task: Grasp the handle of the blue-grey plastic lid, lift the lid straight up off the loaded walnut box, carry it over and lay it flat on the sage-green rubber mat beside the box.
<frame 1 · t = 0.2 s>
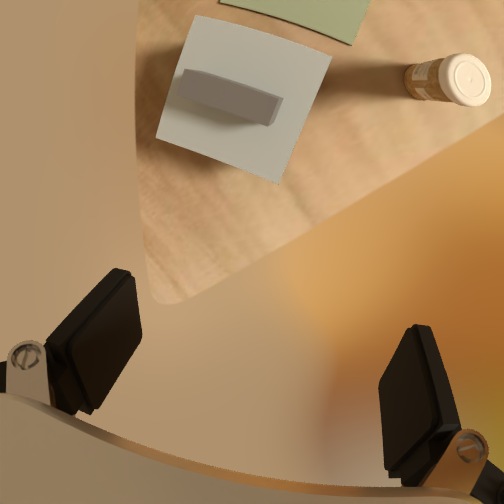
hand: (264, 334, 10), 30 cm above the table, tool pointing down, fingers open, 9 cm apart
lid: (239, 95, 27), point 8 cm above the table, touching box
sprinkles bottle: (420, 81, 29), on the table
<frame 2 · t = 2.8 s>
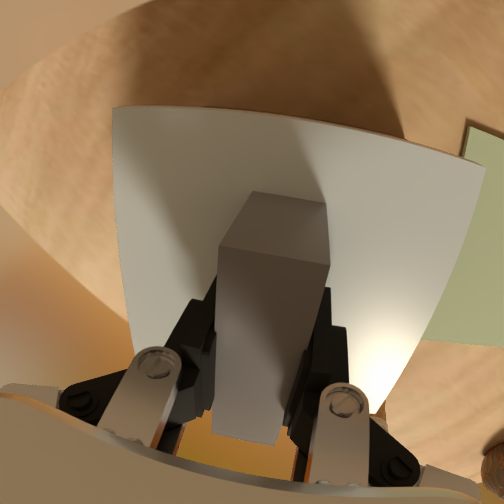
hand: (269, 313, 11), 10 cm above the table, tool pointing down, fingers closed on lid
lid: (276, 283, 13), point 8 cm above the table, touching box, gripper
vase: (497, 448, 30), on the table
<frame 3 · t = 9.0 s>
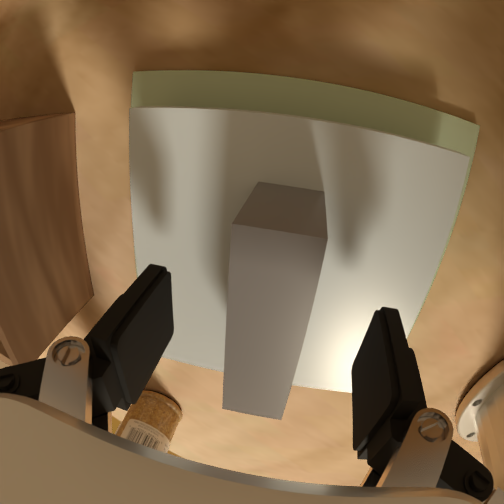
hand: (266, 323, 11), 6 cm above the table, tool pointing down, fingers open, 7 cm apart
lid: (280, 267, 14), point 2 cm above the table, touching mat
mat: (283, 247, 16), on the table
sprinkles bottle: (160, 403, 25), on the table
box: (20, 203, 18), on the table
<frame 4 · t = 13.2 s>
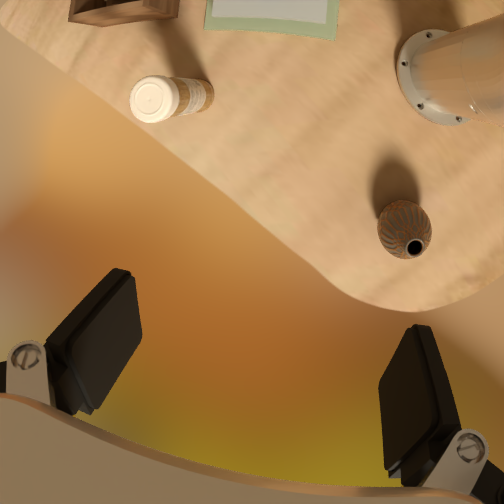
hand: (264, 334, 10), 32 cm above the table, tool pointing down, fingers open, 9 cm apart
sprinkles bottle: (199, 95, 37), on the table
vase: (397, 217, 40), on the table
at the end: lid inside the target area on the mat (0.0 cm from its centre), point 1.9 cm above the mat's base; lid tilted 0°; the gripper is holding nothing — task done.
